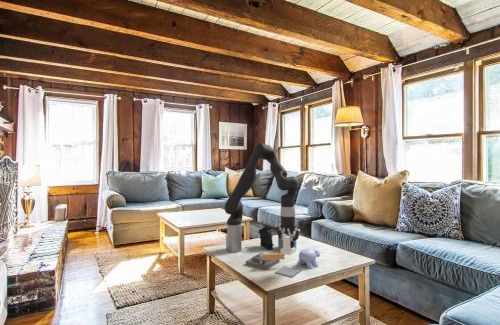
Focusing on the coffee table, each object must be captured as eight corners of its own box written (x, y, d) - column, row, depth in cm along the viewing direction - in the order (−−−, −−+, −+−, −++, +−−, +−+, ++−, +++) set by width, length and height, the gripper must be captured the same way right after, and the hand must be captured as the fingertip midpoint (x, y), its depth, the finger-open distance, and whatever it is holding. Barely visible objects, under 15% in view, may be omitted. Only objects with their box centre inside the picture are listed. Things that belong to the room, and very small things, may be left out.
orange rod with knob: (259, 259, 160) (259, 254, 160) (283, 258, 162) (283, 252, 162) (259, 260, 159) (259, 255, 159) (284, 259, 160) (284, 253, 160)
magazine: (271, 249, 185) (265, 226, 190) (261, 252, 196) (256, 230, 201) (276, 248, 187) (270, 225, 192) (266, 252, 197) (261, 230, 203)
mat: (275, 273, 152) (275, 271, 152) (284, 267, 160) (284, 265, 160) (292, 277, 146) (292, 276, 146) (301, 271, 154) (301, 269, 154)
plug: (280, 252, 152) (280, 237, 152) (285, 249, 157) (285, 235, 157) (290, 255, 149) (290, 239, 149) (295, 251, 154) (295, 236, 154)
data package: (296, 249, 189) (296, 231, 189) (292, 251, 186) (292, 232, 186) (282, 245, 198) (282, 228, 197) (278, 247, 195) (277, 229, 194)
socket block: (245, 264, 165) (245, 257, 164) (259, 257, 176) (259, 250, 176) (266, 269, 156) (266, 262, 156) (279, 262, 168) (279, 255, 168)
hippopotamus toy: (325, 263, 164) (325, 247, 164) (308, 270, 155) (308, 252, 155) (310, 258, 173) (310, 242, 173) (293, 264, 164) (293, 248, 163)
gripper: (272, 214, 154) (272, 246, 154) (296, 217, 145) (297, 251, 146) (279, 212, 160) (279, 243, 160) (303, 214, 151) (303, 247, 152)
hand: (288, 246), depth 153 cm, fingers closed on plug, 4 cm apart
